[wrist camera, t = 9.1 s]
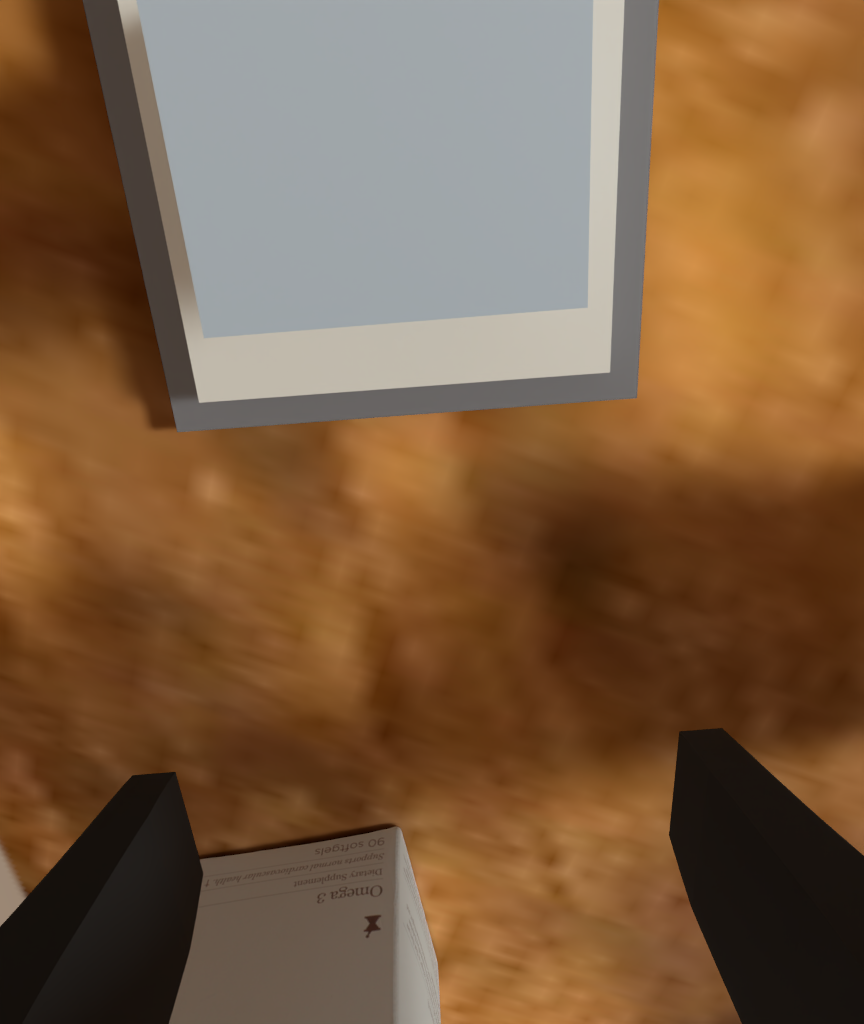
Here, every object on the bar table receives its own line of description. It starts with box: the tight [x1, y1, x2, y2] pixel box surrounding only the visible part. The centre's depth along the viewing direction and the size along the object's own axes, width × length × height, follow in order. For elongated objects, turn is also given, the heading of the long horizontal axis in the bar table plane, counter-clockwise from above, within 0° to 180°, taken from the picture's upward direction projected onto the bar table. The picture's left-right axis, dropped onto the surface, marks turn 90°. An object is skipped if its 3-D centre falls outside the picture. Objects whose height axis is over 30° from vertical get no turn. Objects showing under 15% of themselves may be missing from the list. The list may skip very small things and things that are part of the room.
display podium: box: [83, 0, 659, 432], centre depth 15 cm, size 12×11×2 cm
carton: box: [136, 0, 593, 338], centre depth 10 cm, size 4×4×8 cm
